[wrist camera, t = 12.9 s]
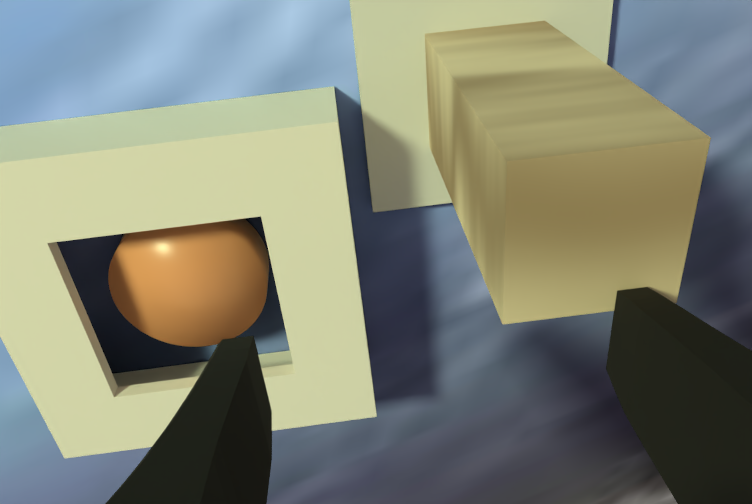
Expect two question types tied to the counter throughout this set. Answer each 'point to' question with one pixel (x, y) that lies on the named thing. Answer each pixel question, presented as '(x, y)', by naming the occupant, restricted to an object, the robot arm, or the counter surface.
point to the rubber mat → (409, 81)
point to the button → (191, 281)
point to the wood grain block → (559, 170)
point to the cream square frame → (175, 209)
